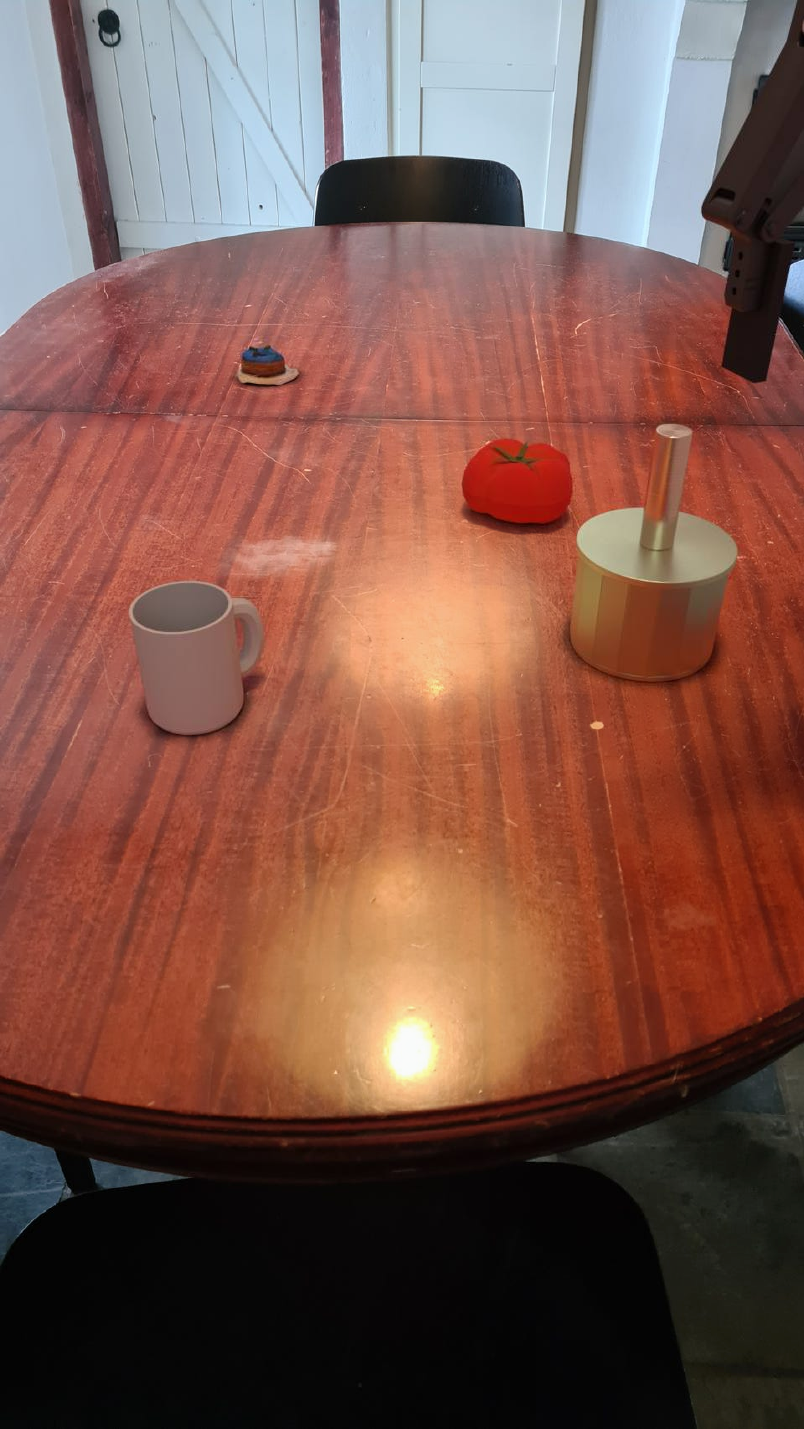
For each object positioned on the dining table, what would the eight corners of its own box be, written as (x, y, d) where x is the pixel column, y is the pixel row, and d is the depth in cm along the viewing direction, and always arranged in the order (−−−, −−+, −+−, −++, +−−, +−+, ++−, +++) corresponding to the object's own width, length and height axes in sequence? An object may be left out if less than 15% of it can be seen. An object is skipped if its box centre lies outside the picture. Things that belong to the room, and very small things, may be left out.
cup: (130, 704, 78) (110, 603, 73) (242, 656, 84) (230, 559, 78) (178, 750, 74) (160, 646, 69) (293, 697, 79) (285, 596, 74)
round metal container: (705, 693, 79) (725, 597, 74) (558, 667, 82) (568, 573, 77) (716, 617, 88) (735, 527, 83) (583, 597, 91) (593, 508, 86)
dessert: (224, 377, 133) (235, 332, 133) (244, 392, 139) (254, 349, 139) (280, 389, 131) (292, 343, 131) (298, 404, 138) (309, 360, 137)
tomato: (477, 485, 109) (480, 425, 105) (580, 500, 106) (586, 439, 102) (449, 525, 102) (450, 462, 98) (558, 543, 99) (564, 479, 95)
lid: (729, 608, 74) (758, 475, 68) (561, 582, 77) (574, 453, 71) (739, 532, 83) (766, 409, 77) (589, 512, 86) (602, 392, 80)
